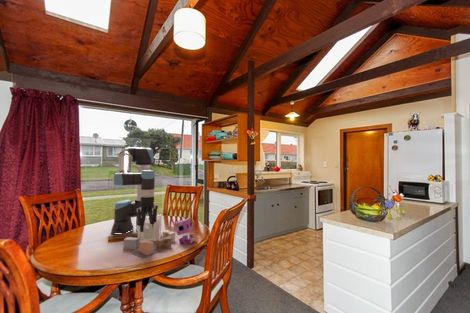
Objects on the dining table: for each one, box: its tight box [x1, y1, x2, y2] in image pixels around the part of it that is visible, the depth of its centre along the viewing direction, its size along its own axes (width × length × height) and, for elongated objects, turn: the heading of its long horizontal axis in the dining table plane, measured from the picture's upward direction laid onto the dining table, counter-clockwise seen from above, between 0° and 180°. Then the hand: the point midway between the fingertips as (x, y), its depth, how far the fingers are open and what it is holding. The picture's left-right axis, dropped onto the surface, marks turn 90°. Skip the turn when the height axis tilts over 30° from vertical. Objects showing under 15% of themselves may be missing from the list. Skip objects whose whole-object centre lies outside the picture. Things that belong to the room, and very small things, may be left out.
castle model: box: [137, 213, 163, 242], centre depth 153 cm, size 14×14×15 cm
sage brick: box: [140, 225, 154, 239], centre depth 129 cm, size 8×4×6 cm, turn 56°
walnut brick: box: [155, 236, 172, 251], centre depth 137 cm, size 8×4×6 cm, turn 130°
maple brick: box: [162, 229, 176, 243], centre depth 150 cm, size 8×4×6 cm, turn 55°
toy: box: [174, 217, 196, 245], centre depth 149 cm, size 11×8×15 cm
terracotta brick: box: [138, 240, 154, 255], centre depth 129 cm, size 8×4×6 cm, turn 55°
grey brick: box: [123, 236, 140, 250], centre depth 136 cm, size 8×4×6 cm, turn 85°
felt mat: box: [130, 248, 162, 260], centre depth 129 cm, size 12×12×1 cm
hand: (146, 235), depth 129 cm, fingers closed on sage brick, 4 cm apart
